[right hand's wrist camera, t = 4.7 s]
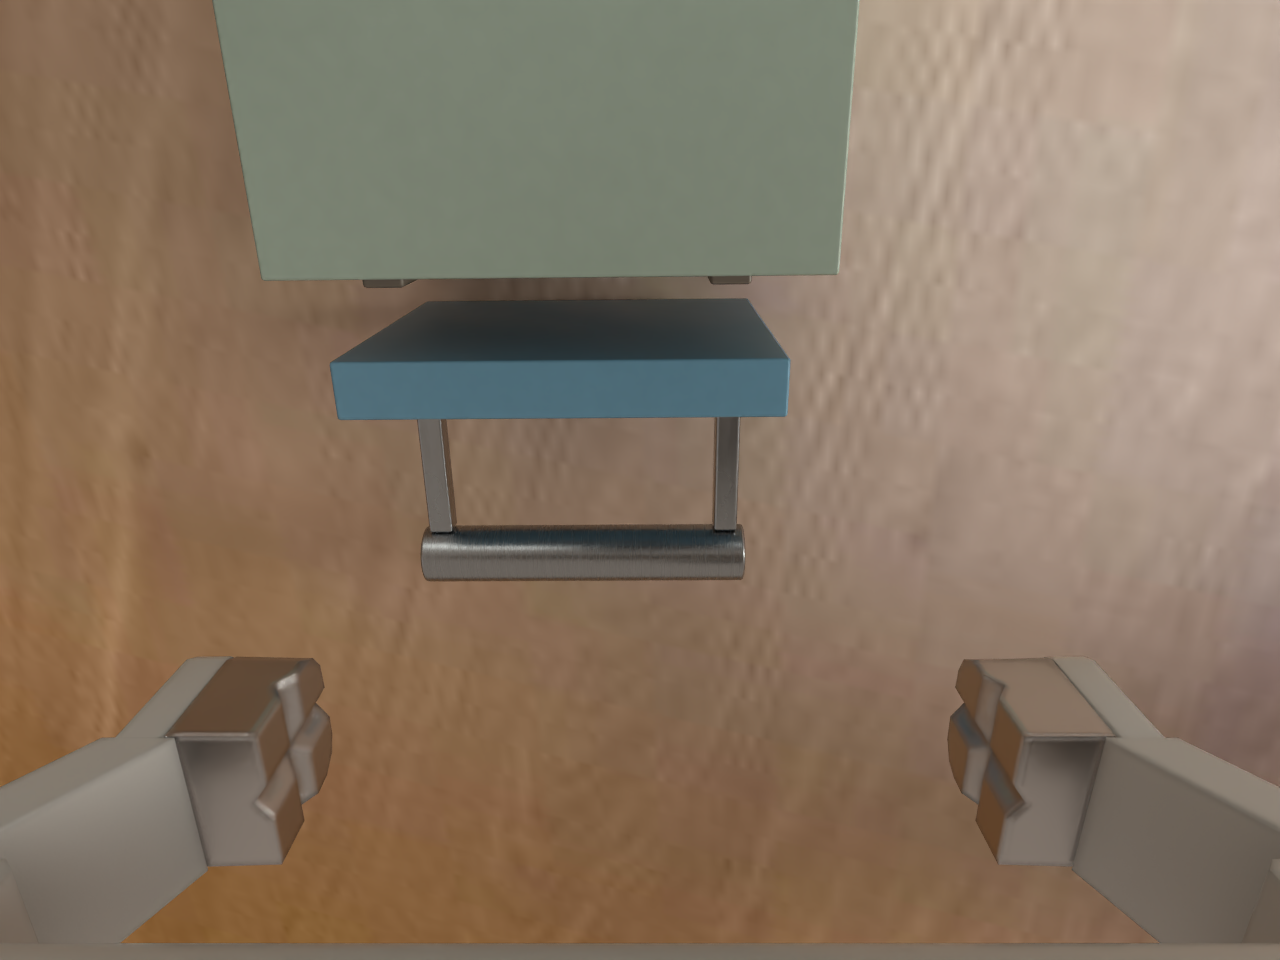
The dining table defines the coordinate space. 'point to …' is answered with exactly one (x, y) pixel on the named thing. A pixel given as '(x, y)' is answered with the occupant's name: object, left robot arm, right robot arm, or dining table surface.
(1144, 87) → the dining table surface
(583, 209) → the cabinet
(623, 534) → the drawer
